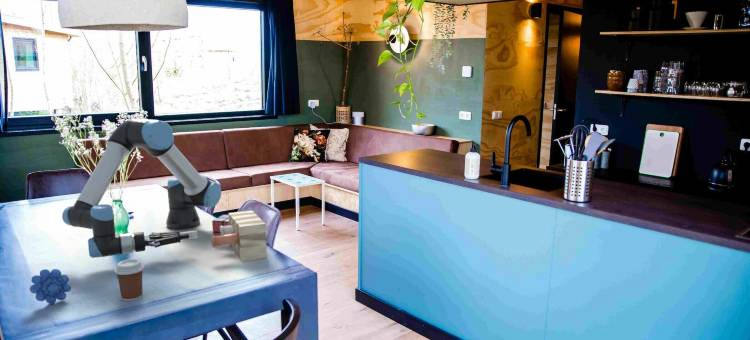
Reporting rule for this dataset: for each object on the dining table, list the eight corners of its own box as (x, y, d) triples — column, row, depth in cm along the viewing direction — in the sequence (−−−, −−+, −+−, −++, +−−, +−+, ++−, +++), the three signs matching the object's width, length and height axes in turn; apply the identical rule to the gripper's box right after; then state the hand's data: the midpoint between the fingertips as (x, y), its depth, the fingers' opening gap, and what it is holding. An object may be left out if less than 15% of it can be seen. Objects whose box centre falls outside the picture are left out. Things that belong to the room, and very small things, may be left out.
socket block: (230, 244, 235) (228, 213, 232) (253, 241, 239) (252, 210, 236) (241, 261, 215) (239, 226, 213) (266, 257, 220) (265, 223, 217)
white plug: (220, 235, 229) (219, 224, 228) (253, 230, 235) (252, 220, 234) (222, 238, 225) (221, 227, 224) (255, 233, 231) (255, 223, 230)
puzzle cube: (234, 244, 236) (233, 222, 234) (213, 243, 238) (211, 220, 236) (244, 237, 245) (243, 215, 243) (223, 236, 247) (222, 214, 245)
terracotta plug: (211, 245, 216) (211, 234, 216) (246, 240, 222) (246, 229, 221) (213, 249, 212) (213, 237, 211) (249, 244, 218) (249, 232, 217)
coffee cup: (111, 301, 179) (107, 266, 177) (127, 290, 188) (124, 257, 186) (136, 303, 178) (133, 268, 176) (152, 292, 187) (149, 258, 185)
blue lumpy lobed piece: (36, 313, 171) (31, 276, 169) (30, 306, 176) (25, 271, 174) (76, 301, 180) (72, 266, 177) (69, 295, 184) (65, 261, 182)
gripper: (133, 246, 219) (195, 238, 229) (135, 257, 207) (200, 247, 218) (131, 228, 218) (193, 221, 228) (133, 237, 206) (199, 229, 216)
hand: (196, 234), depth 223 cm, fingers closed
